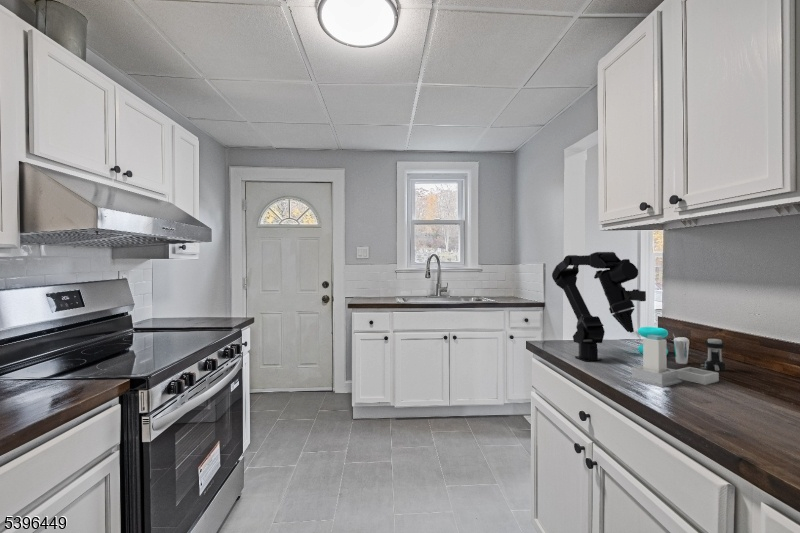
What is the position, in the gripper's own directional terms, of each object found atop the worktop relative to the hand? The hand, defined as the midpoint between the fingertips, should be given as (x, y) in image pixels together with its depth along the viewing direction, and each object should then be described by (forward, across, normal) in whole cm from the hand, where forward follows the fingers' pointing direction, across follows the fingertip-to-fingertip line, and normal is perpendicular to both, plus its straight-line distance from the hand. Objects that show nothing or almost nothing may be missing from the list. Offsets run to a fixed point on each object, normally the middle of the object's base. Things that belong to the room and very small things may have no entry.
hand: (630, 332), depth 131 cm
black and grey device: (+19, +14, -19) cm, 30 cm away
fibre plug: (+14, -8, -1) cm, 16 cm away
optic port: (+15, -8, 0) cm, 17 cm away
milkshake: (+15, +20, -12) cm, 28 cm away
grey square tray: (+18, -2, -12) cm, 22 cm away
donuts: (+12, +33, -6) cm, 35 cm away
